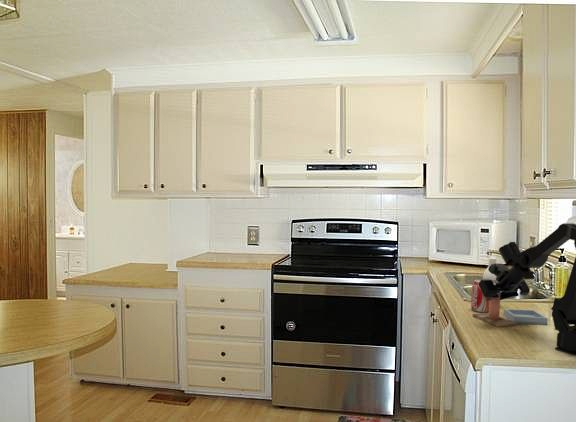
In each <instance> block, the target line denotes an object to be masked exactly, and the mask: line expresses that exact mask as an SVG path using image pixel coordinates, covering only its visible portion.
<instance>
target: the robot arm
mask: <svg viewBox="0 0 576 422" xmlns="http://www.w3.org/2000/svg"><path fill="white" fill-rule="evenodd" d="M570 240H572V241H574V242H573V244H574V248H575V249H576V223H573V222H571V223H570V222H569V223H567V222H566V223H561V224H559V225H558V227H557V228H556V229H555V230H554V231H553V232H551V233H550V234H549V235H548V236H546V237H545V238H544V239H542V240H541V241H540V242H539V243H538V244H537V245H535V246H532V247H528V248H526V249H524V250H522V251H521V250H520V249H519V247H518V244H517V243H516V241H510V242H509V243H507V244H504V245H503V246H500V247H499V249H498V253H499V254H500V256H501V258H502V259H503V262H504V263H505V264H504V263H502V262H501V263H496V264H491V265H490V266H489V269H488V270H489V272H490V273H491V274H494V275H495V276H496V278H495V279H496V280H497V281H498V283H495V284H496V285H494V284H493V282H492V280H490V279H486V280H482V279H480V280H481V281H480V282H479V283H478V284H479V286H480V288H481V290H482V292H483V294H484V296H485V297H486V300H487V301H490V300H493V299H495V298H498V297H499V296H498V293H500V292H501V295H500V301H503V300H507V299H512V298H516V297H519V296H528V294H530V290H531V289H530V287H529V285H528V283H527V282H526V280H534V279H535V275H534V274H535V273H534V271H533V270H532V269H540V268H542V267H543V266H544V265H545V264H546V262H547V261H548V259H549V256H550V255H551V254H552V253H554V252H555V251H556V250H558V249H559V248H560V247H561V246H563V245H564V244H565V243H567V242H568V241H570ZM507 265H508V266H511V267H510V268H509V267H508V266H507ZM519 290H520V292H519ZM550 310H551V317H552V320H553V325H554V330H555V331H558V333H557V335H556V347H554V350H557V351H561V352H564V353H566V354H567V353H568V354H571V355H575V356H576V256H575V258H574V262H573V264H572V267H571V271H570V274H569V277H568V281H567V284H566V286H565V291H564V294H563V296H562V297H556V298H554V300H553V305H552V307H551V308H550Z"/></svg>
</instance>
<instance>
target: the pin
mask: <svg viewBox="0 0 576 422" xmlns="http://www.w3.org/2000/svg"><path fill="white" fill-rule="evenodd" d="M501 292H502V291H501ZM501 292H500V293H498V296H499V297H498V298H495V299H493V300H490V303H489V311H488V313H489V319H490V320H492V321H495V320H499V316H500V309H501V300H500V295H501Z"/></svg>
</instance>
